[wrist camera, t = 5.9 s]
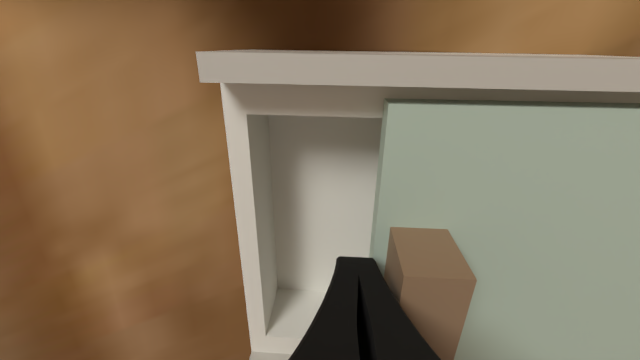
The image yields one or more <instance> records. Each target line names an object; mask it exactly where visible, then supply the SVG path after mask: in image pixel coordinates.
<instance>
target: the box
mask: <svg viewBox="0 0 640 360" xmlns="http://www.w3.org/2000/svg"><path fill="white" fill-rule="evenodd" d="M196 57H197V64H198V71H199V78H200V82H208V83H220V86H221V95H222V103H223V112H224V120H225V129H226V137H227V146H228V154H229V163H230V171H231V180H232V188H233V197H234V205H235V214H236V222H237V231H238V239H239V248H240V256H241V265H242V273H243V282H244V290H245V299H246V307H247V316H248V324H249V333H250V341H251V350H252V352H251V356H250V359H249V360H288V359H289V358H290V356H291V355H292V354H293V352H294V351H295V349H296V348H297V346H298V345H299V343H300V341H301V340H302V338H303V337H304V335H305V333H306V332H307V330H308V328H309V326H310V325H311V323H312V321H313V319H314V317H315V315H316V313H317V311H318V309H319V307H320V305H321V303H322V301H323V299H324V297H325V294H326V292H327V290H328V287H329V285H330V282H331V279H332V276H333V273H334V270H335V265H336V259H337V258H338V257H339V256H345V257H366V258H369V252H370V242H371V231H372V221H373V211H374V200H375V190H376V179H377V169H378V158H379V148H380V138H381V127H382V117H383V106H384V98H392V99H443V100H494V101H545V102H595V103H640V57H624V56H598V55H559V54H498V53H438V52H377V51H316V50H255V49H249V50H225V51H202V52H196Z"/></svg>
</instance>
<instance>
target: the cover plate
mask: <svg viewBox="0 0 640 360" xmlns="http://www.w3.org/2000/svg"><path fill="white" fill-rule="evenodd" d="M369 258H373V259H374V260H375V261H376V263H377V265H378V267H379V270H380V272H381V274H382V275H383V277H384V279H385V281H386V283H387V285H388V286H389V288H390V290H391V291H392V293H393V295H394V296H395V298H396V299H397V301H398V303H399V304H400V306H401V307H402V309H403V310H404V312H405V313H406V315H407V316H408V318H409V319H410V320H411V322H412V323H413V325H414V326H415V327H416V329H417V330H418V332H419V333H420V334H421V336H422V337H423V338H424V339H425V341H426V342H427V343H428V344H429V346H430V347H431V348H432V349H433V350H434V352H435V353H436V354H437V355H438V357H439V358H440V359H441V360H640V103H595V102H545V101H494V100H443V99H392V98H384V106H383V117H382V127H381V138H380V148H379V158H378V169H377V179H376V190H375V200H374V211H373V221H372V231H371V242H370V252H369Z"/></svg>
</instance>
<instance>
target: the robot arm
mask: <svg viewBox="0 0 640 360" xmlns="http://www.w3.org/2000/svg"><path fill="white" fill-rule="evenodd" d="M288 360H441V359H440V358H439V357H438V355H437V354H436V353H435V352H434V350H433V349H432V348H431V347H430V346H429V344H428V343H427V342H426V341H425V339H424V338H423V337H422V336H421V334H420V333H419V332H418V330H417V329H416V327H415V326H414V325H413V323H412V322H411V320H410V319H409V318H408V316H407V315H406V313H405V312H404V310H403V309H402V307H401V306H400V304H399V303H398V301H397V299H396V298H395V296H394V295H393V293H392V291H391V290H390V288H389V286H388V285H387V283H386V281H385V279H384V277H383V275H382V274H381V272H380V270H379V267H378V265H377V263H376V261H375V260H374V259H373V258H366V257H345V256H339V257H338V258H337V259H336V265H335V270H334V273H333V276H332V279H331V282H330V285H329V287H328V290H327V292H326V294H325V297H324V299H323V301H322V303H321V305H320V307H319V309H318V311H317V313H316V315H315V317H314V319H313V321H312V323H311V325H310V326H309V328H308V330H307V332H306V333H305V335H304V337H303V338H302V340H301V341H300V343H299V345H298V346H297V348H296V349H295V351H294V352H293V354H292V355H291V356H290V358H289V359H288Z"/></svg>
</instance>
